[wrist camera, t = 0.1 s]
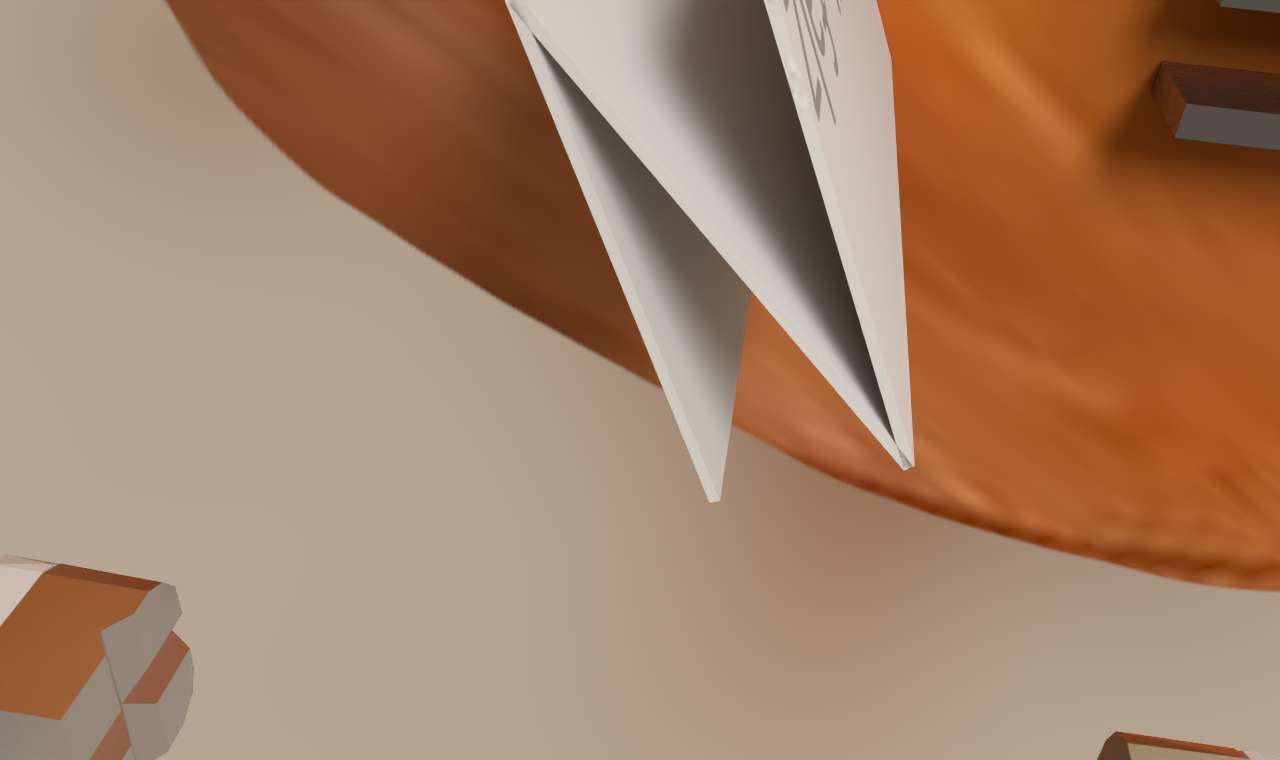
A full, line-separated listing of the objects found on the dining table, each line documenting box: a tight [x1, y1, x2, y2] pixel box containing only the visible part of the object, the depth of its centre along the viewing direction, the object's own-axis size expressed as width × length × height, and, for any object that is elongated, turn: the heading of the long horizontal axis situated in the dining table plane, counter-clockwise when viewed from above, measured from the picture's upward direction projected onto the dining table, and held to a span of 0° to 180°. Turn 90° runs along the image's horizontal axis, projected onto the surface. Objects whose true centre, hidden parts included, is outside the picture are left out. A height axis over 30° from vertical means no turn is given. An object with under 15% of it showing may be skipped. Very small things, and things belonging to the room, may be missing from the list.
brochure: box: [505, 0, 915, 503], centre depth 41 cm, size 14×6×30 cm, turn 20°
